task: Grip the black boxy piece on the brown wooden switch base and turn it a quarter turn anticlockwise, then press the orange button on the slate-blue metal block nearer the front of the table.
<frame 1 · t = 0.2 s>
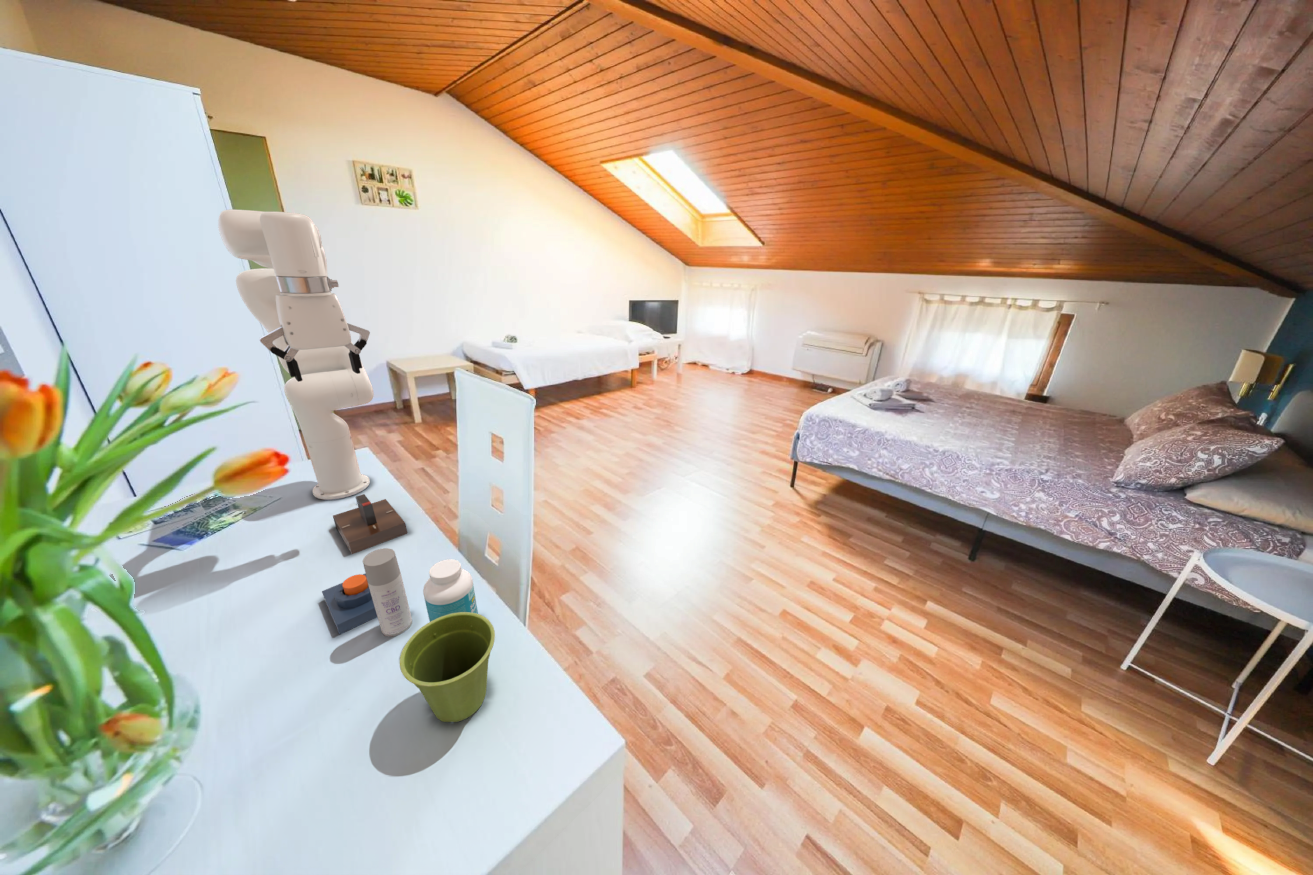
hand: (328, 376, 86), 36 cm above the table, tool pointing down, fingers open, 9 cm apart
plant pot: (460, 701, 63), on the table
black boxy piece: (366, 509, 97), point 6 cm above the table, hinge at 0.0°
button block: (361, 603, 79), on the table
container: (397, 626, 75), on the table
brown wooden switch base: (371, 529, 99), on the table
pill bottle: (457, 630, 75), on the table
button: (355, 584, 77), point 4 cm above the table, slide at 0.1 cm
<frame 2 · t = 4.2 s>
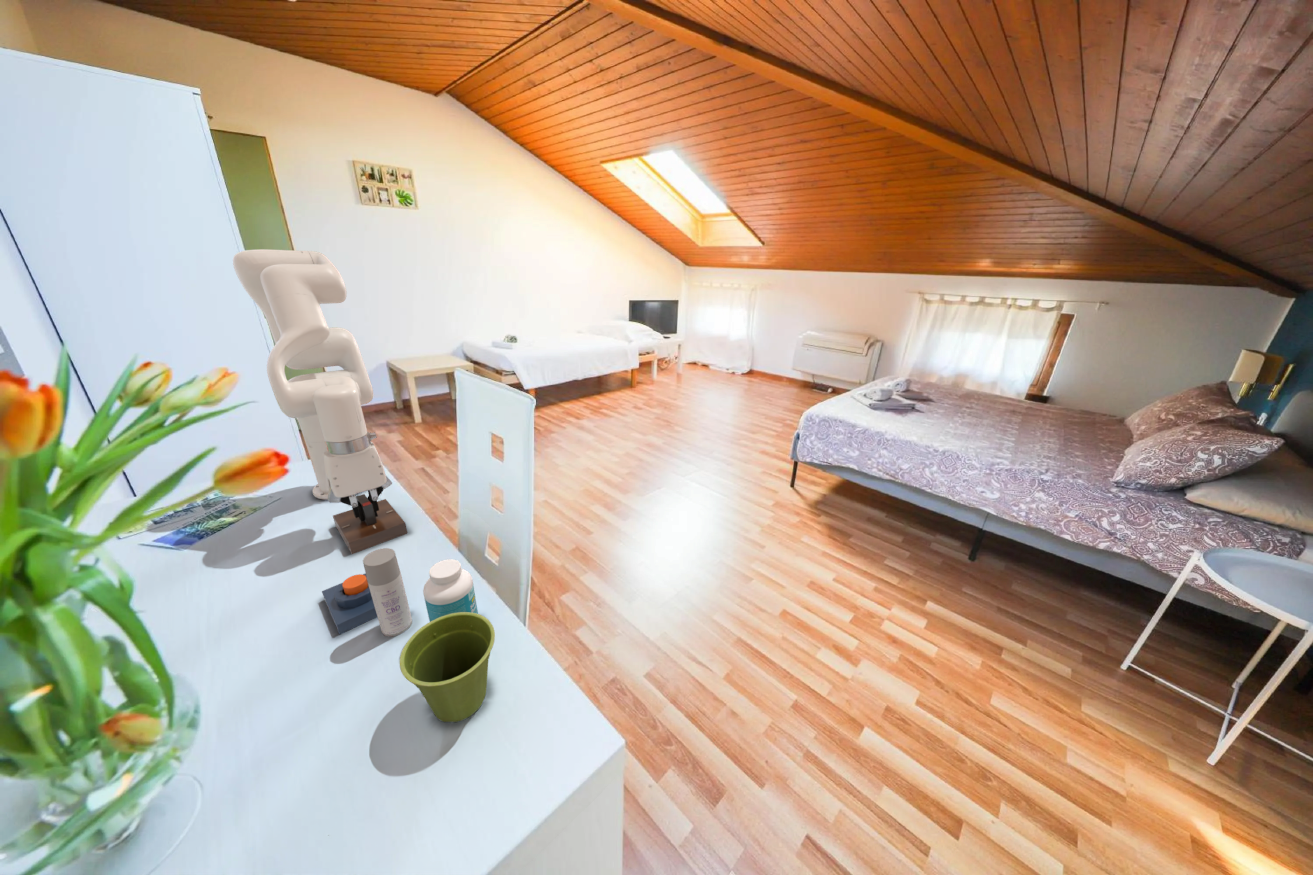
hand: (367, 515, 98), 4 cm above the table, tool pointing down, fingers closed on black boxy piece, 2 cm apart
black boxy piece: (366, 509, 97), point 6 cm above the table, hinge at 0.0°, touching gripper
everything else where it was.
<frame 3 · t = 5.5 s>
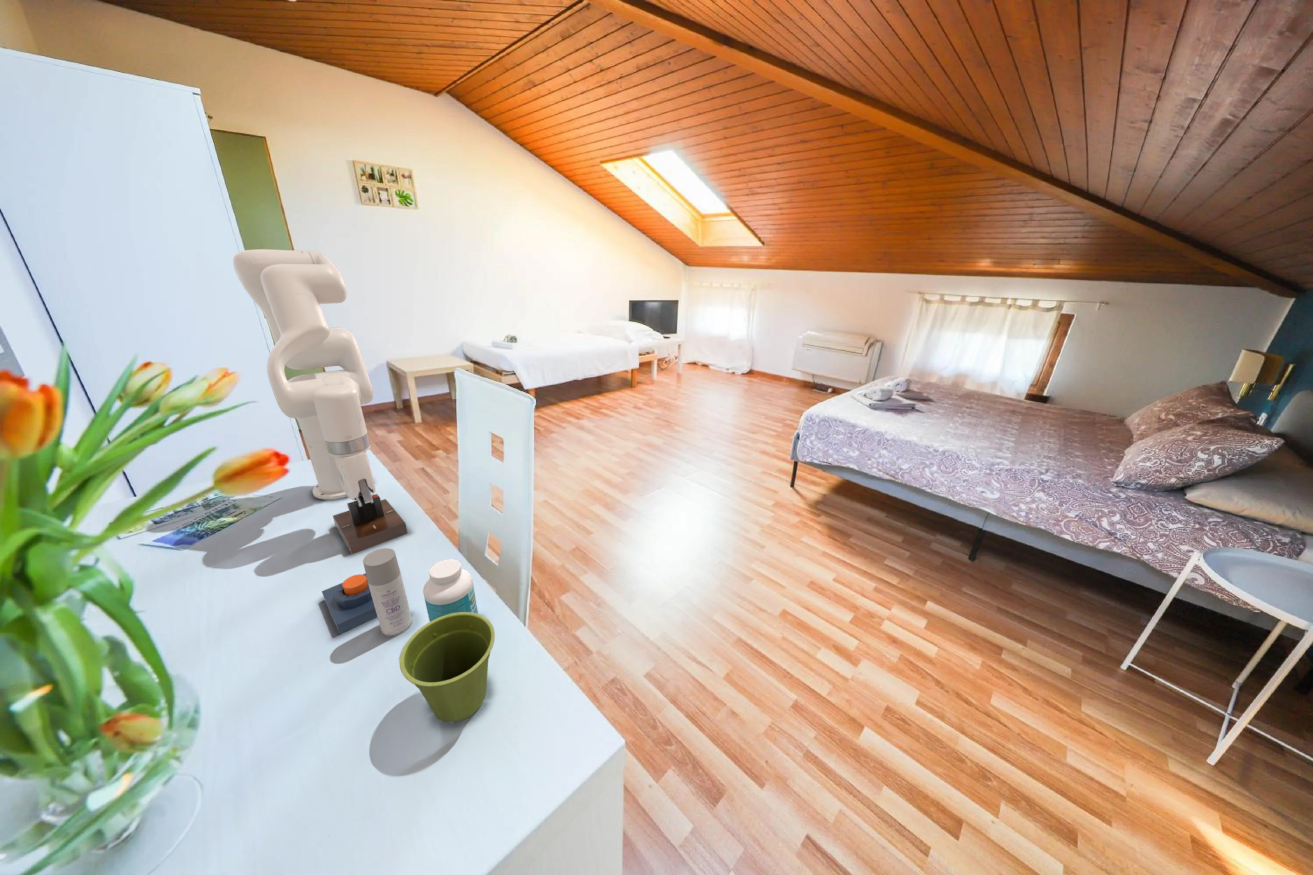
hand: (367, 516, 98), 4 cm above the table, tool pointing down, fingers closed on black boxy piece, 2 cm apart
black boxy piece: (366, 509, 97), point 6 cm above the table, hinge at 89.2°, touching gripper
everything else where it was.
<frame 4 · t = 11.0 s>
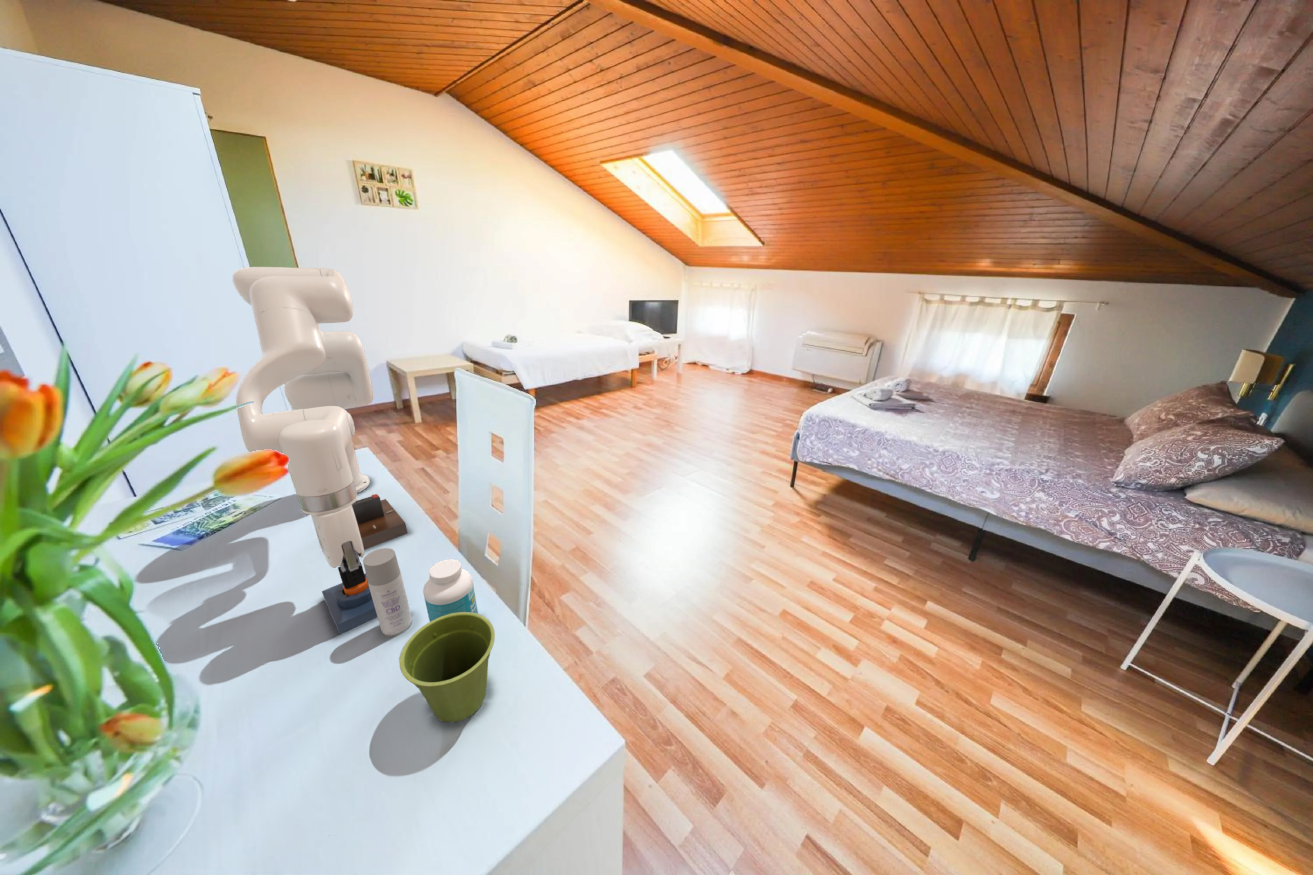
hand: (354, 582, 77), 5 cm above the table, tool pointing down, fingers closed
black boxy piece: (366, 509, 97), point 6 cm above the table, hinge at 89.2°
button: (356, 586, 77), point 4 cm above the table, slide at -0.3 cm, touching gripper
everything else where it was.
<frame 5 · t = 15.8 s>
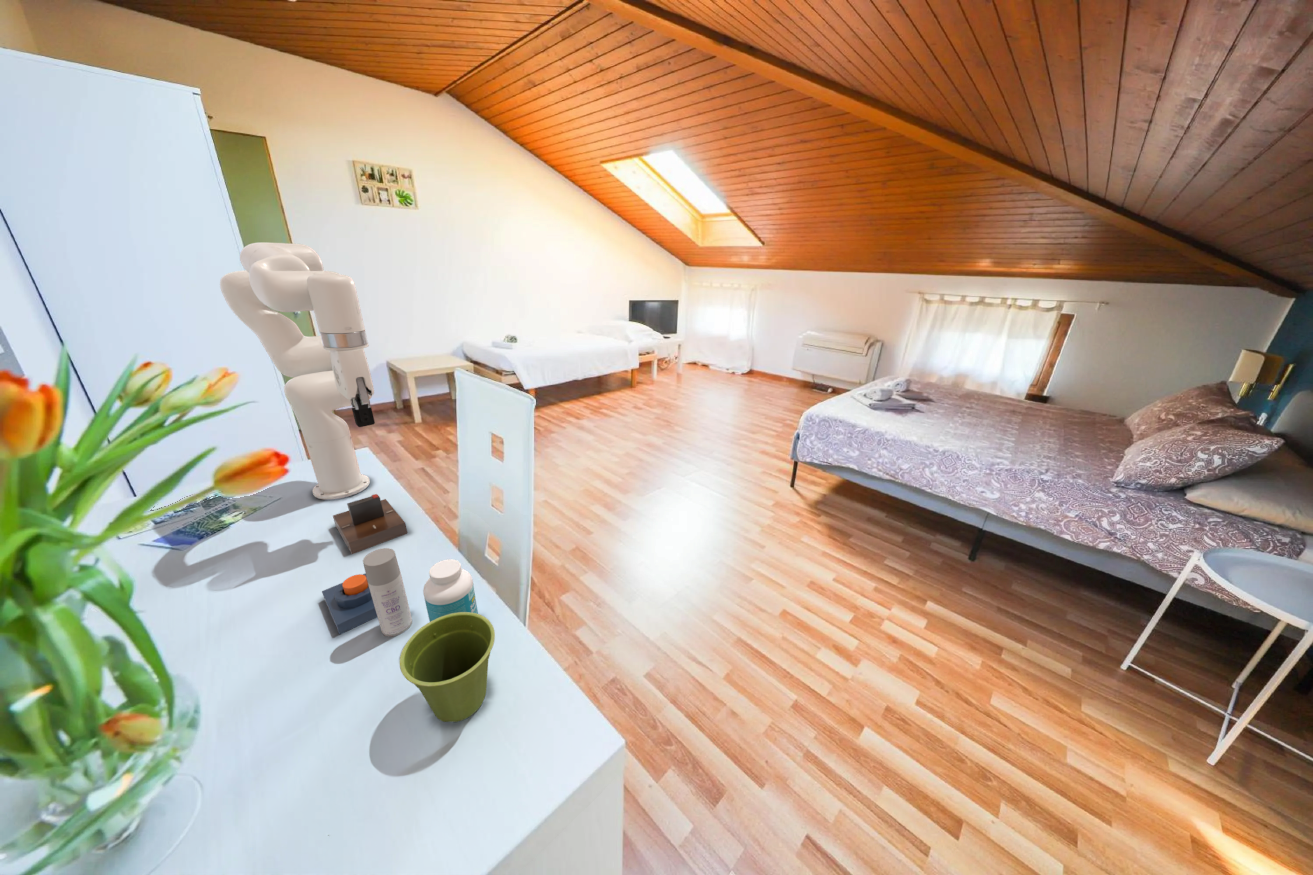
hand: (365, 424, 93), 25 cm above the table, tool pointing down, fingers closed
button: (355, 584, 77), point 4 cm above the table, slide at 0.1 cm
everything else where it was.
at the end: black boxy piece at +89° (first picture: +0°); button pushed in 1.1 cm at the most during the clip, back to where it started at the end; button slide at 0.1 cm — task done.
